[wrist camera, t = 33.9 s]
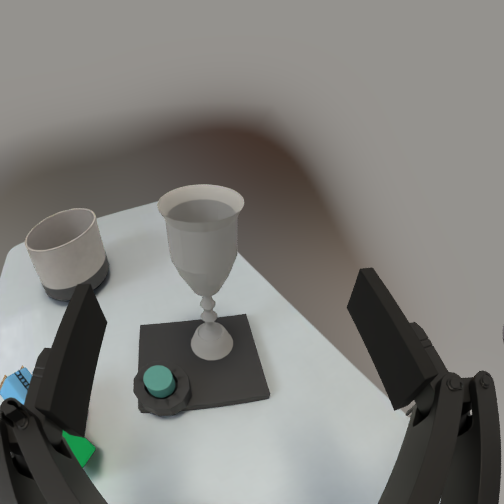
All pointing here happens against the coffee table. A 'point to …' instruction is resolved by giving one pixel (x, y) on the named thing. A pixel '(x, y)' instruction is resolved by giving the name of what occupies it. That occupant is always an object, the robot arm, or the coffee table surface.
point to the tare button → (159, 381)
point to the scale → (199, 368)
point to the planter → (67, 252)
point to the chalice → (204, 252)
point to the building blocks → (18, 389)
